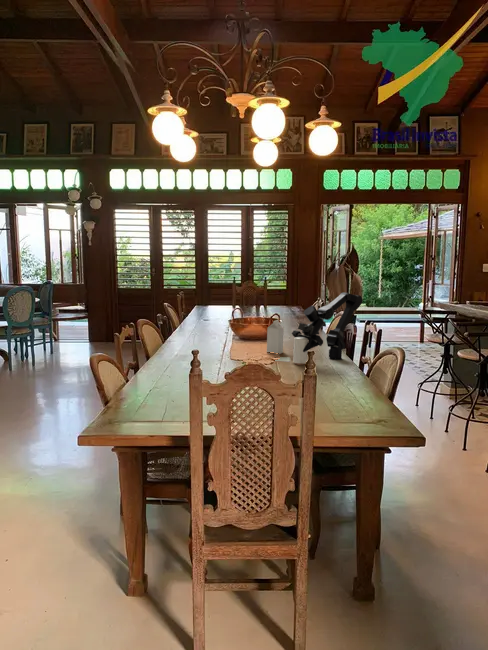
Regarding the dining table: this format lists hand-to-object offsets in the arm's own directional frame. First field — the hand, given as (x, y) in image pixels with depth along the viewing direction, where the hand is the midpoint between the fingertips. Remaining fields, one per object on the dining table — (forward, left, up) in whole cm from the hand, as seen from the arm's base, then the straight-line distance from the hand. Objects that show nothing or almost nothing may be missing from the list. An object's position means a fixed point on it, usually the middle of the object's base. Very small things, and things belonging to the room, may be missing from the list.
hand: (298, 350), depth 254 cm
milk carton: (+13, -26, -8) cm, 30 cm away
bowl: (-1, -1, -8) cm, 8 cm away
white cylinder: (-1, -1, -6) cm, 6 cm away
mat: (+9, -10, -8) cm, 15 cm away
